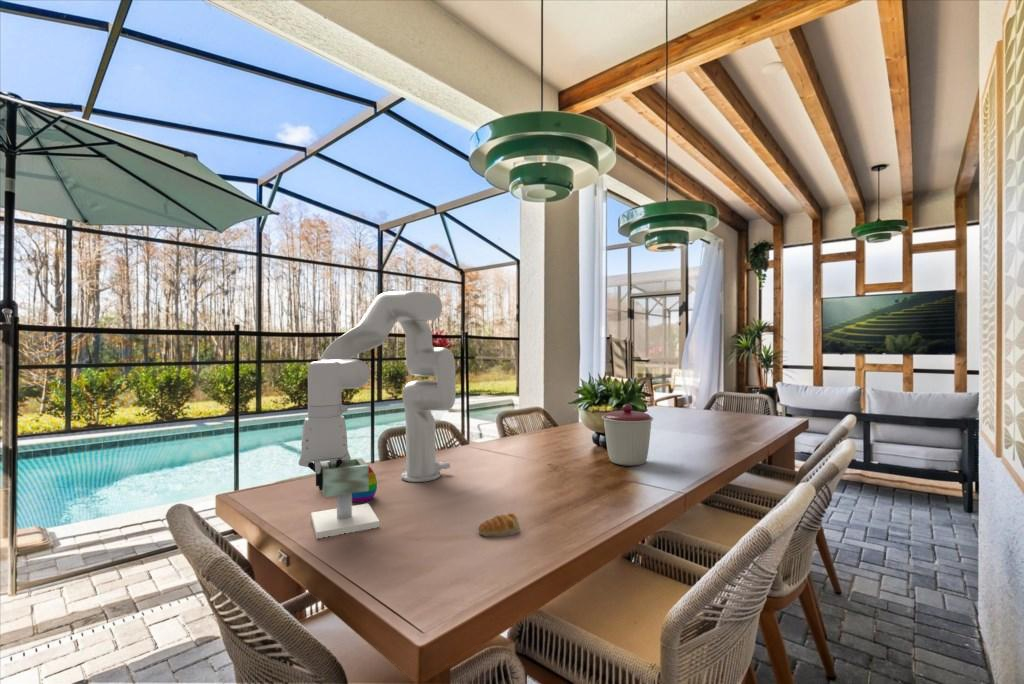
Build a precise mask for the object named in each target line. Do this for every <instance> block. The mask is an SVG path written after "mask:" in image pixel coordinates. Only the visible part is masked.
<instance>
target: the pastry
mask: <svg viewBox="0 0 1024 684" xmlns="http://www.w3.org/2000/svg"><path fill="white" fill-rule="evenodd" d="M520 530H521V527H520V522H519V521H518V517H517V516H516V514H515V513H510V512H508V514H501V515H496V516H493V517H492V518H491V519H487V520H486V521H484V522H482V523H480V524H479V527H478V533H479V534H480V535H481V536H484V537H487V538H491V537H497V538H498V537H506V536H512V535H516V534H519V533H520Z"/></svg>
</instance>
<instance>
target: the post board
mask: <svg viewBox="0 0 1024 684" xmlns="http://www.w3.org/2000/svg"><path fill="white" fill-rule="evenodd" d="M352 502H353V501H352V493H349V494H342V495H336V508H331V509H325V510H320V511H312V512H310V516H311V517H310V519H311V523H312V527H313V530H314V534H315V539H316V540H318V538H319V539H323V537H325V538H329V537H328V536H330V537H335V536H339V535H340V534H341V535H345V534H344V533H346V534H351V533H356V531H357V532H361V531H367V530H371V529H372V528H373V529H377V527H378V528H380V520H379V518H378V516H377V515H376V513H375V512H374V509H372V507H371V505H370V504H369V502H367V503H363V504H356V505H353V503H352ZM373 529H372V530H373ZM350 532H351V533H350Z"/></svg>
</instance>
